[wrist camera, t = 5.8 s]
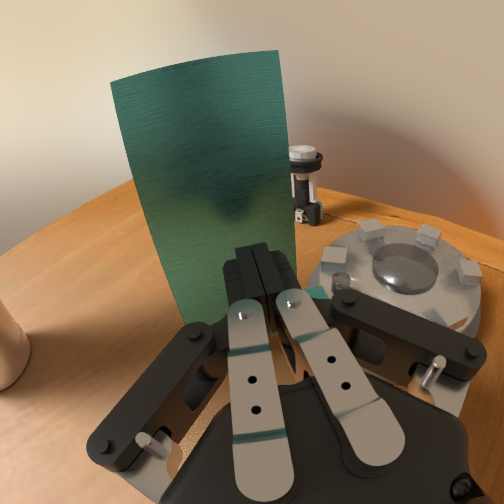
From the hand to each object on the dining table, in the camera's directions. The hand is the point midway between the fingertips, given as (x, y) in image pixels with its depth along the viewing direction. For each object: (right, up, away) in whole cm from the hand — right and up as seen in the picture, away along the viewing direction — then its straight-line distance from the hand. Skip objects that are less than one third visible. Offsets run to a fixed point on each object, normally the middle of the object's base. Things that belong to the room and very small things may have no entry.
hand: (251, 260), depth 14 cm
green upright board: (+8, -4, +9) cm, 13 cm away
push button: (+7, +5, +26) cm, 28 cm away
